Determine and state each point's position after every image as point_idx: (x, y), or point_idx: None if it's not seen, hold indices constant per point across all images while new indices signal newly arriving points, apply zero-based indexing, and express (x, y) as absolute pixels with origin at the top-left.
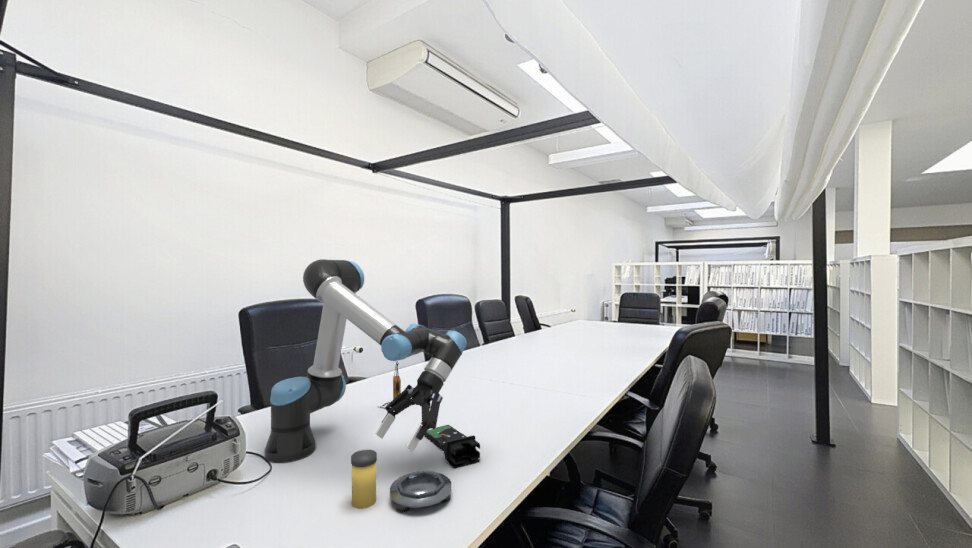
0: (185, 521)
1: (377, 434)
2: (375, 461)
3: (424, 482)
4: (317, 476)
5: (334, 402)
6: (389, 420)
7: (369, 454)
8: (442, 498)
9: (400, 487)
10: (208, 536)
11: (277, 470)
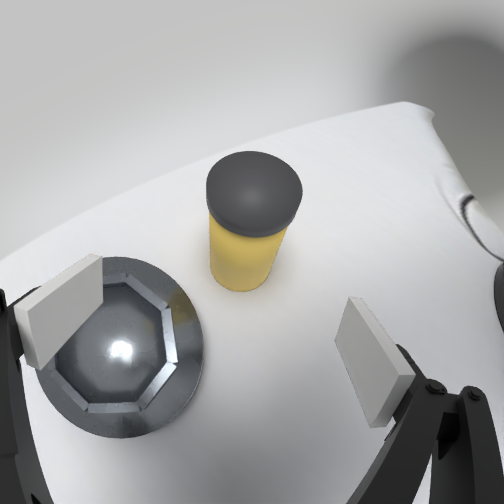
0: (403, 127)
1: (347, 302)
2: (208, 208)
3: (110, 365)
4: (422, 279)
5: None
6: (372, 376)
7: (241, 195)
8: None
9: (144, 292)
10: (353, 116)
11: (478, 251)
